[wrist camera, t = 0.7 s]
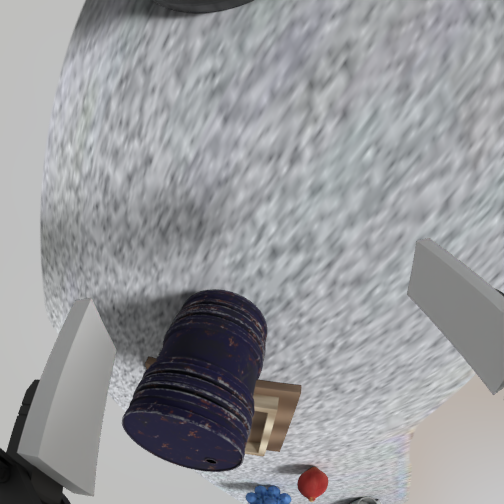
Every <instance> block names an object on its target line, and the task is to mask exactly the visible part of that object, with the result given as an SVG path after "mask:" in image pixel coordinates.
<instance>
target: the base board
mask: <svg viewBox="0 0 504 504" xmlns="http://www.w3.org/2000/svg"><path fill="white" fill-rule="evenodd" d="M155 361H156V359H155V358H151V357H148V359H147V361H146V362H145V364H146V368H147V369H148V368H149V367H150V365H151V364H153V363H154V362H155ZM300 394H301V385H293V384H284V383H277V382H270V381H263V380H257V381H256V384H255V389H254V395H253V399H254V409H255V412H254V416H253V418H252V427H251V432H250V435H249V437H248V440H247V444H246V448H245V454H251V455H257V456H264V455H265V452H266V450H269V451H278V452H280V449H281V447H282V444H283V441H284V439H285V436H286V434H287V431H288V428H289V425H290V423H291V420H292V417H293V414H294V412H295V409H296V406H297V403H298V400H299V397H300Z"/></svg>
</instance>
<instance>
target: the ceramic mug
mask: <svg viewBox="0 0 504 504" xmlns="http://www.w3.org/2000/svg"><path fill="white" fill-rule="evenodd" d="M349 504H381V503H380V500H375V499H373V498H372V497H363V498H361V499H359V500H356V501H354V502H352V503H349Z"/></svg>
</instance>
